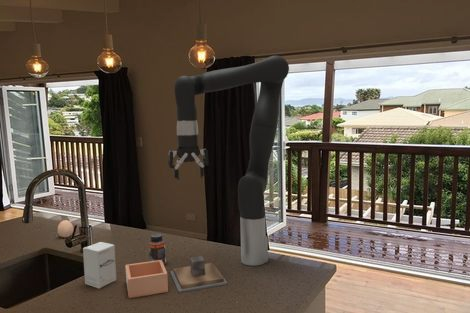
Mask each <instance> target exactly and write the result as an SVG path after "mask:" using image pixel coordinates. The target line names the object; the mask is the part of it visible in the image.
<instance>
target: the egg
mask: <svg viewBox="0 0 470 313" xmlns="http://www.w3.org/2000/svg"><path fill="white" fill-rule="evenodd" d="M73 232H74V226H73V223H72V222H71V221H69V220H67V219H64V220H62V221H60V222H59V224H58V225H57V234H58V235H59V236H60V237H61V238H69V237H70V236H71V235H72V234H73Z"/></svg>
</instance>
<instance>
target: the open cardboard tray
mask: <svg viewBox="0 0 470 313" xmlns="http://www.w3.org/2000/svg"><path fill="white" fill-rule="evenodd" d="M168 278H169V276H168V271H167V270H166V267H165V265H164V264H163V262H162V260H157V261H150V260H149V261H145V262H137V263H130V264H125V281H126V289H127V295H128V299H133V298H138V297H145V296H150V295H156V294H162V293H163V294H164V293H168V292H169V282H168V281H169V279H168Z"/></svg>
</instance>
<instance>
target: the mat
mask: <svg viewBox="0 0 470 313" xmlns="http://www.w3.org/2000/svg"><path fill="white" fill-rule="evenodd" d="M213 265H214V266H215V264H213ZM215 267H216V266H215ZM216 269H217V270H218V271H219V269H218V268H217V267H216ZM169 273H170V275H171V278H172V280H173V283H174V285H175V287H176V289H177V292H178V293H180V294H181V293H187V292H191V291H192V292H193V291H198V290H204V289H209V288H214V287H215V288H216V287H220V286H227V285H228V281H227V280H226V279H225V277H224V276H223V275H222V274H221V271H219V273H220V274H221V275H222V277H223V278H224V282H220V283H214V284H208V285H202V286H196V287H190V288H185V289H181V287H180V285H179V283H178V280H177V278H176V276H175V274H174V271H173V270H170V271H169Z"/></svg>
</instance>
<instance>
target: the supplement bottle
mask: <svg viewBox="0 0 470 313" xmlns="http://www.w3.org/2000/svg"><path fill="white" fill-rule="evenodd" d="M166 252H167V251H166V241H165V240H164V238H163V235H162V234H161V233H154V234H151V236H150V240H149V241H148V254H149V255H148V256H149V257H148V258H149V262H150V261H157V260H162V262H163V264H164V266H165V265H166V264H167V256H166V254H167V253H166Z"/></svg>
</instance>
